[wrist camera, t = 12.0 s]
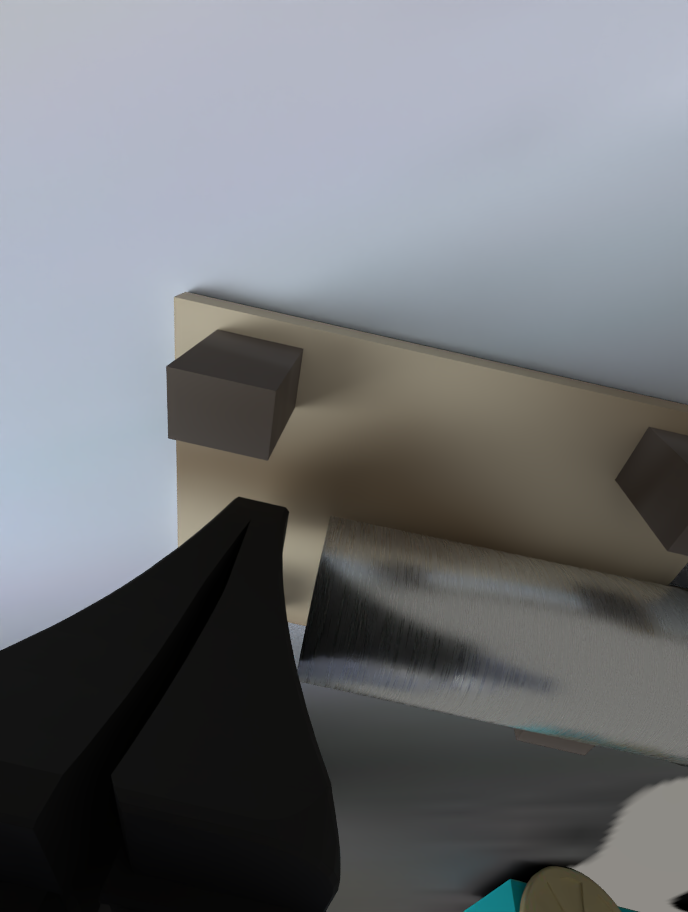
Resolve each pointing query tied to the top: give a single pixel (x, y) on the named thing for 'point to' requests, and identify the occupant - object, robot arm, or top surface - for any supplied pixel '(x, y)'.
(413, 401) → the collar board
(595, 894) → the toy train
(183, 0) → the top surface
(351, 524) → the tube
